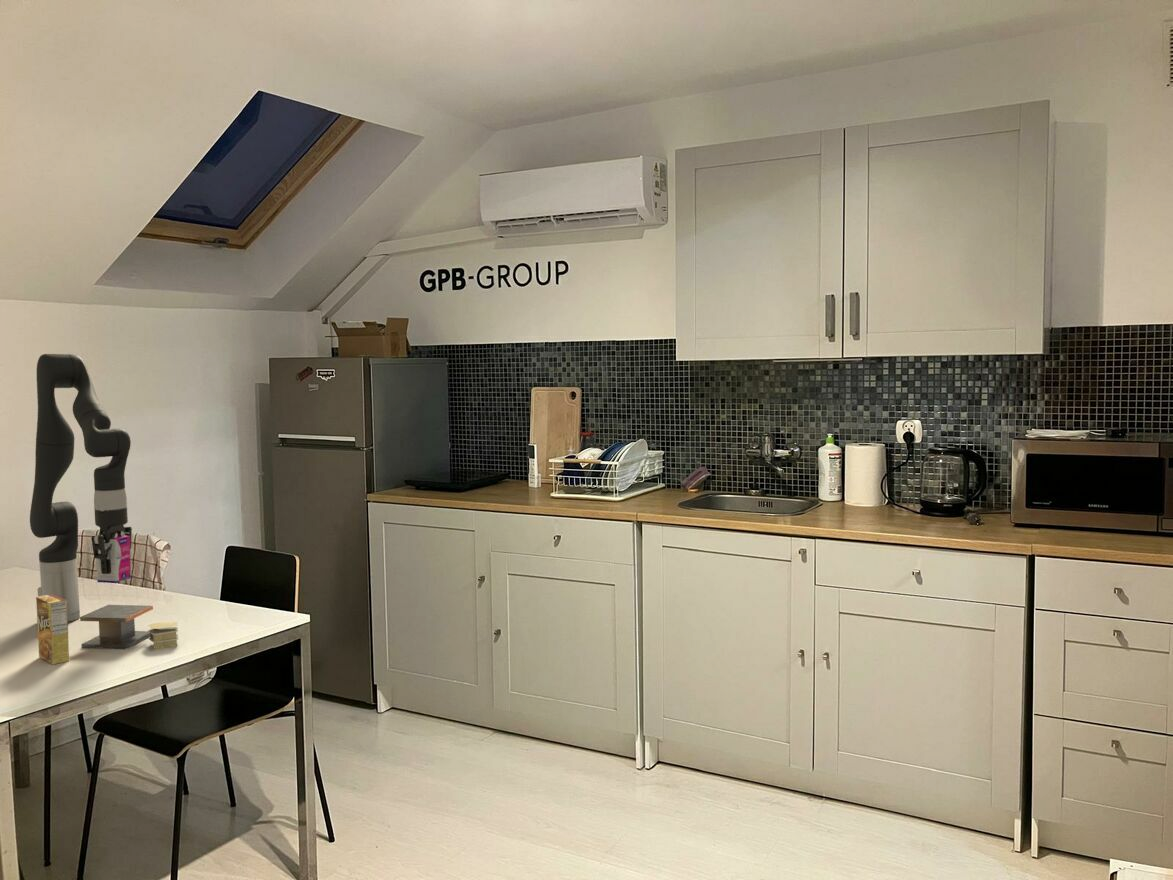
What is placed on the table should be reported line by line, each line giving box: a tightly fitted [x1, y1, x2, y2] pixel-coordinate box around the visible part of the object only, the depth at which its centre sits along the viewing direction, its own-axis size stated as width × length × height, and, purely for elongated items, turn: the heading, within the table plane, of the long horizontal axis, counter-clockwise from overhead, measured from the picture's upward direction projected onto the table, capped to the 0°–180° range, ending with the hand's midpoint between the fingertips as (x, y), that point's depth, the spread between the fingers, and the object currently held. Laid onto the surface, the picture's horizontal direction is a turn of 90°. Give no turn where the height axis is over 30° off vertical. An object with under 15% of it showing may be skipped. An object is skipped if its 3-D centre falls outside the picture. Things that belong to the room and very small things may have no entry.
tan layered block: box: [147, 621, 179, 649], centre depth 243 cm, size 10×9×6 cm
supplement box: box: [96, 536, 132, 584], centre depth 244 cm, size 6×6×12 cm
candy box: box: [35, 594, 70, 666], centre depth 231 cm, size 9×4×15 cm, turn 50°
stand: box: [79, 604, 154, 650], centre depth 246 cm, size 12×12×8 cm
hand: (113, 570), depth 245 cm, fingers closed on supplement box, 6 cm apart
